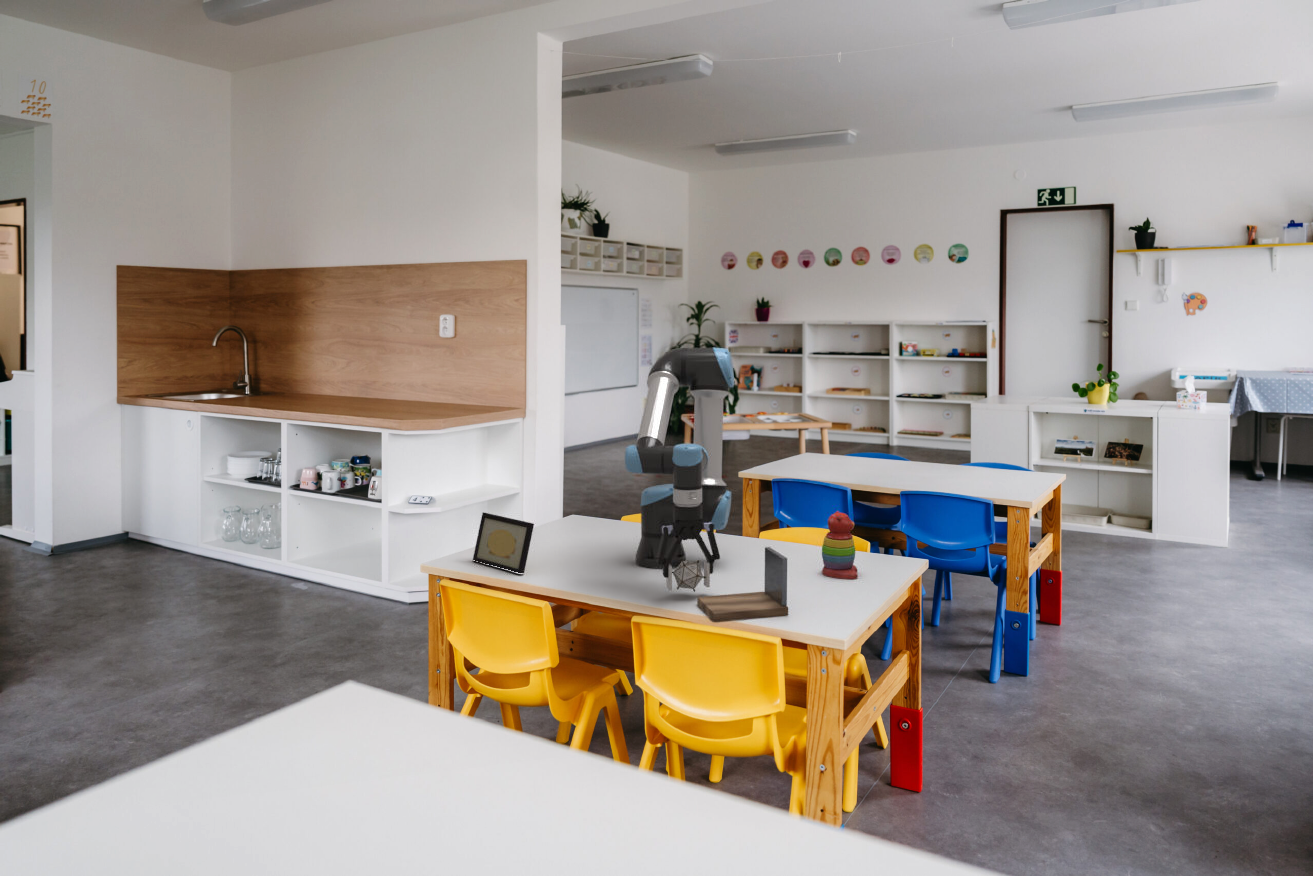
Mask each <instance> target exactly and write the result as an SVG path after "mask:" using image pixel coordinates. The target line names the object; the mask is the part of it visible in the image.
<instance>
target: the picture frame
mask: <svg viewBox="0 0 1313 876" xmlns="http://www.w3.org/2000/svg"><path fill="white" fill-rule="evenodd" d="M481 513H482V514H481V518H480V523H479V527H478V533H477V538H476V543H475V546H474V547H475V548H474V551H473V558H472V561H473V560H475V561H478V562H482V563H485V564H489V565H493V566H497V567H500V568H504V569H508V570H511V571H514V572H518V573H524V574H525V570H526V564H527V560H528V555H529V551H530V546H531V540H532V535H533V531H534V525H535V523H533V522H529V521H524V520H520V519H515V518H510V517H506V516H502V515H498V514H493V513H489V512H488V513H487V512H481Z"/></svg>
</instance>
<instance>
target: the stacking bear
mask: <svg viewBox="0 0 1313 876" xmlns="http://www.w3.org/2000/svg"><path fill="white" fill-rule="evenodd" d="M827 526H828V530H829V531H828V532H827V533H826V535H825V536H824V538H823V543H822V545H821V557H822V563H823V568H822V571H821V572H822V574H823V576H826V577H829V578H834V579H835V578H836V579H843V580H856V579H858V576H859V574H858V573H857V572H858V568H857V566H856V565H854V562H855V558H856V546H855V541H854V537H853V534H852V533H851V532H852V530H853V529H854V527H855V522H854V521H853V520H851V518H850V517H849V515H848V514H846V513H844V512H840V511H839V510H837V511H835V512H834V513H833V514H830V516H829V517H828V519H827Z"/></svg>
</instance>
